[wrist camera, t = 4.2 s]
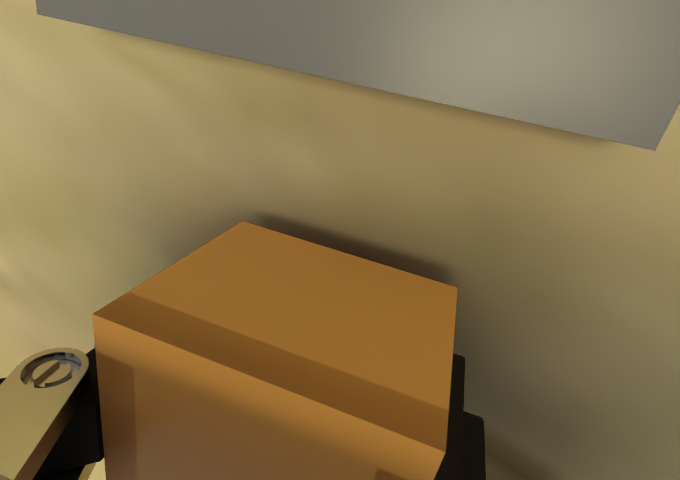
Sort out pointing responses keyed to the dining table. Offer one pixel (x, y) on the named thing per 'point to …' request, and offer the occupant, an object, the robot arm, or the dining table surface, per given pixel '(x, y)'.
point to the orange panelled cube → (275, 366)
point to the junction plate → (445, 51)
